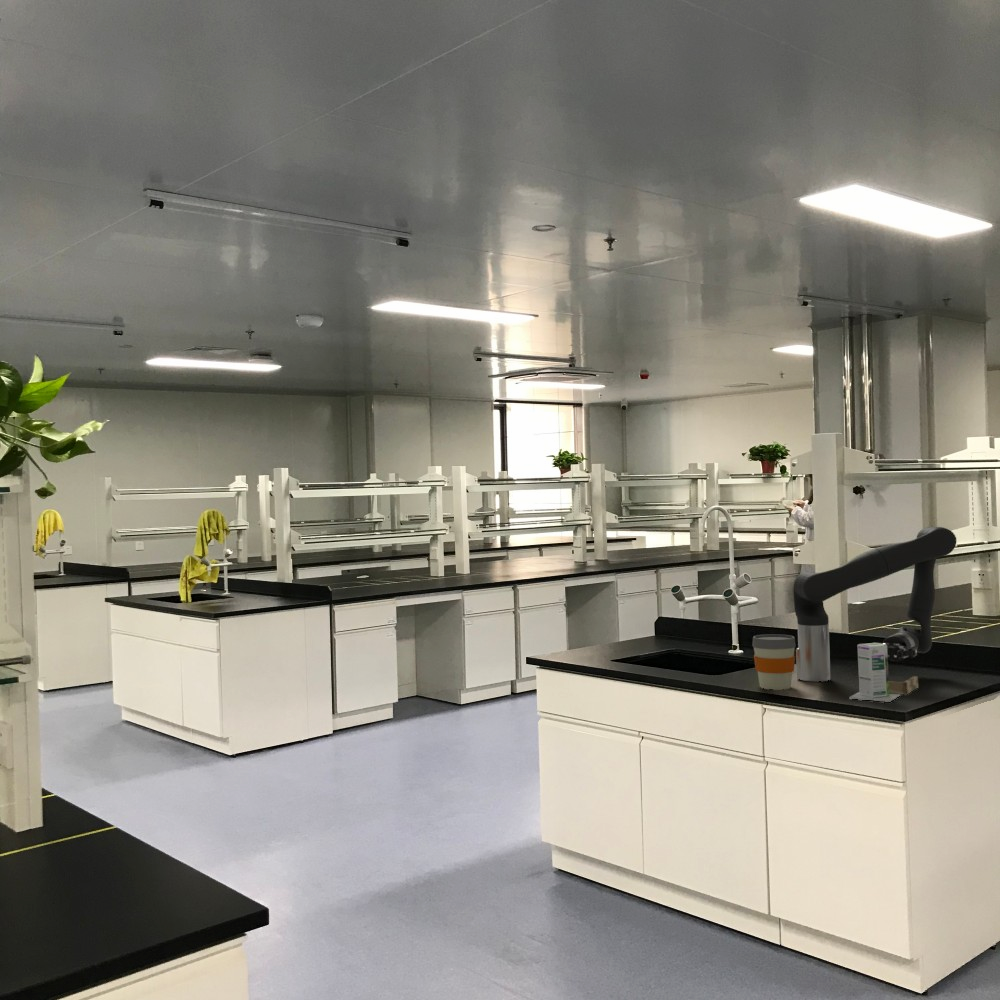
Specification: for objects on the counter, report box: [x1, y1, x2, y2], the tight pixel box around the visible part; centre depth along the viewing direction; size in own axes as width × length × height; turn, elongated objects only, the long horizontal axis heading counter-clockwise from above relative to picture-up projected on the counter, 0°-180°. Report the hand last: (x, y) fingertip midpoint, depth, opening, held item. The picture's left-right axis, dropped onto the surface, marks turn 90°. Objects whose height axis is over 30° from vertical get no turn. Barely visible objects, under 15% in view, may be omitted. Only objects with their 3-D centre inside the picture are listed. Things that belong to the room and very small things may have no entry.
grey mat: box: [848, 691, 901, 703], centre depth 278 cm, size 11×10×1 cm
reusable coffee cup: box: [752, 633, 797, 691], centre depth 298 cm, size 13×12×15 cm
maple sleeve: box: [889, 675, 919, 695], centre depth 288 cm, size 12×11×4 cm
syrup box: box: [856, 642, 890, 698], centre depth 278 cm, size 6×6×14 cm
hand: (882, 654), depth 285 cm, fingers open, 8 cm apart
